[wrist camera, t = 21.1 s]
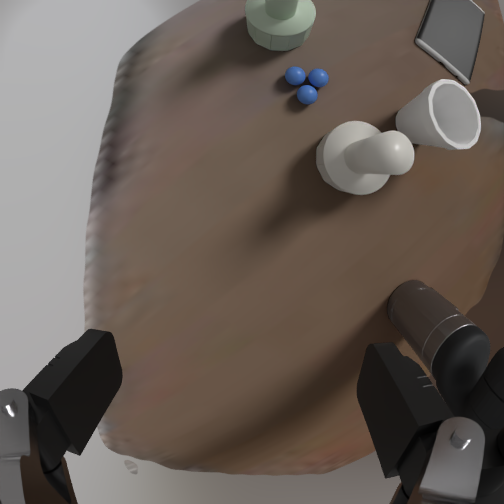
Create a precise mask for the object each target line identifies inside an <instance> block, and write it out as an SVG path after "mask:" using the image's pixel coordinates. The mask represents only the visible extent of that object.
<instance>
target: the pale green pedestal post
mask: <svg viewBox="0 0 504 504" xmlns="http://www.w3.org/2000/svg"><path fill="white" fill-rule="evenodd" d="M245 14H246V20H247V29H248V33H249V35H250V36H251V37H252V39H253V40H254V41H255V43H256V44H258V45H260V46H262V47H265V48H267V49H269V50H275V51H289V50H291V49H294V48H296V47H299V46H301V45H302V44H303V43H304V41H305V40H306V39H307V38H308V36H309V34H310V31H311V28H312V26H313V23H314V20H315V16H316V11H315V7H314V5H313V3H312V1H311V0H247V2H246V5H245Z"/></svg>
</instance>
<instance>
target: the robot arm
mask: <svg viewBox="0 0 504 504" xmlns="http://www.w3.org/2000/svg"><path fill="white" fill-rule="evenodd" d="M387 313H388V317H389V319H390V320H391V322H392V323H393V324H394V326H395V327H396V328H397V329H398V331H399V332H400V333H401V335H402V336H403V337H404V338H405V340H406V341H407V342H408V344H409V345H410V346H411V348H412V349H413V350H414V352H415V353H416V354H417V356H418V357H419V358H420V360H421V361H422V362H423V364H424V365H425V366H426V368H427V369H428V370H429V372H430V373H431V374H432V376H433V377H434V378H435V380H436V385H437V388H438V390H439V393H440V394H441V395H440V394H439V393H438V391H437V390H436V388H435V387H434V386H432V382H431V381H430V379H429V378H428V377H426V374H425V372H424V371H423V370H422V368H421V367H420V365H419V364H417V363H416V362H415V361H413V360H412V359H410V358H409V357H408V356H403V355H402V354H401V353H400V351H399V350H398V348H397V347H396V345H395V344H394V343H393V342H388V343H375V344H369V345H368V347H367V349H366V353H365V357H364V361H363V364H362V368H361V372H360V375H359V379H358V383H357V398H358V402H359V404H360V407H361V410H362V412H363V415H364V418H365V421H366V424H367V426H368V429H369V432H370V435H371V438H372V441H373V443H374V446H375V449H376V452H377V455H378V458H379V461H380V464H381V467H382V470H383V473H384V476H385V478H390V477H394V476H398V475H399V476H400V479H401V483H400V484H399V486H398V487H397V489H396V492H395V494H394V496H393V498H392V500H391V502H390V504H504V347H503V348H501V349H500V350H499V351H498V352H497V353H496V354H495V356H494V357H493V358H492V360H491V361H490V363H489V364H488V366H487V363H488V359H489V354H490V342H489V339H488V337H487V335H486V334H485V333H484V332H483V331H482V330H481V329H480V328H478V327H477V326H476V325H475V324H473V323H472V322H471V321H470V320H469V319H468V318H466V317H465V316H464V315H463V314H461V313H460V312H459V311H458V308H457V307H456V306H454V305H453V304H452V303H451V302H449V301H448V300H447V299H446V298H444V297H443V296H442V295H440V294H439V293H438V292H437V291H435V290H434V289H433V288H429V287H428V286H427V285H425V284H424V283H422V282H421V281H418V280H411V281H407V282H405V283H403V284H402V285H400V286H399V287H398V288H397V289H396V290H395V291H394V292H393V294H392V295H391V297H390V299H389V302H388V307H387ZM486 366H487V367H486ZM122 376H123V375H122V368H121V364H120V360H119V356H118V352H117V348H116V344H115V340H114V337H113V335H112V333H111V332H107V331H101V330H95V329H88V330H87V331H86V332H85V333H84V334H83V335H82V336H81V337H80V338H79V339H78V340H77V341H75V342H73V343H71V344H69V345H67V346H66V347H64V348H63V349H62V350H61V351H60V352H59V353H58V354H57V355H56V356H55V358H53V359H52V360H51V361H50V362H49V363H48V365H46V366H45V367H44V368H43V369H42V370H41V371H40V372H39V374H38V375H37V376H36V377H35V378H34V379H33V380H32V381H31V382H30V383H29V384H28V385H27V386H26V387H25V388H24V390H23V391H21V390H19V389H5V390H2V391H0V504H78V503H77V500H76V497H75V493H74V490H73V486H72V483H71V479H70V475H69V471H68V467H67V463H66V460H65V458H64V457H63V455H64V454H65V452H66V451H69V452H72V453H74V454H77V455H79V456H80V455H81V453H82V452H83V450H84V448H85V446H86V445H87V443H88V441H89V439H90V438H91V436H92V434H93V432H94V431H95V429H96V427H97V425H98V424H99V422H100V420H101V418H102V417H103V415H104V413H105V412H106V410H107V408H108V407H109V405H110V403H111V401H112V400H113V398H114V396H115V395H116V393H117V391H118V390H119V388H120V386H121V383H122ZM441 396H442V397H441ZM443 399H444V400H443Z"/></svg>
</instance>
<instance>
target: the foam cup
mask: <svg viewBox="0 0 504 504" xmlns="http://www.w3.org/2000/svg"><path fill="white" fill-rule="evenodd" d="M396 128H397V130H398V132H401V133H402V134H404V135H405V136H406V137H407V138H408V139H409V140H410V142H411V143H413V144H421V145H429V146H436V147H443V148H446V149H448V150H453V149H469V148H470V147H472V146H473V145H474V144H475V143H476V142H477V141H478V137H479V134H480V131H481V122H480V113H479V111H478V108H477V106H476V103H475V101H474V99H473V98H472V96H471V95H470V94H469V92H468V91H467V90H466V88H465V87H463V86H462V85H460V84H459V83H457V82H455V81H454V80H447V79H441V80H439V81H436V82H434V83H432V84H431V85H429V86H428V87H426V88H425V89H424V90H423V92H422V93H421V94H419V95H418V96H417V97H415V98H414V99H413V100H412V101H410V102H409V103H408V104H407V105H405V106H404V107H403V108H401V109H400V110H399V111H398V113H397V115H396Z"/></svg>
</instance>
